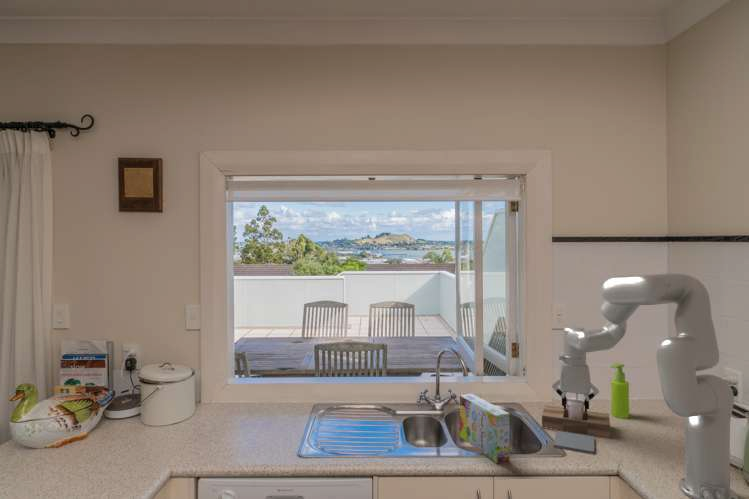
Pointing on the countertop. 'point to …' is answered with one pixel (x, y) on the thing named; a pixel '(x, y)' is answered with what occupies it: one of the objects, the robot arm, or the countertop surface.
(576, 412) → the smoothie
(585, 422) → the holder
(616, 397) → the soap dispenser
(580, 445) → the mat
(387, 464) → the countertop surface
